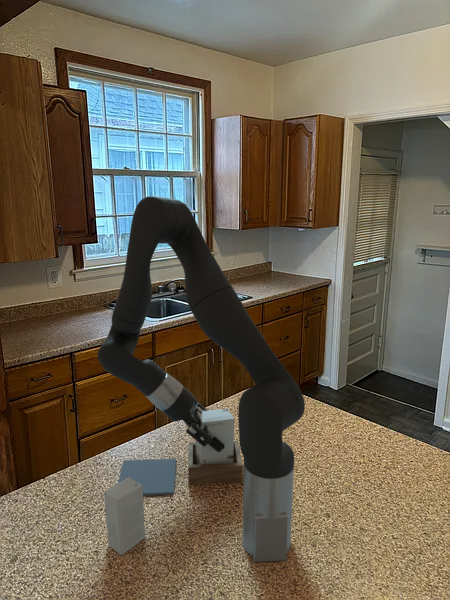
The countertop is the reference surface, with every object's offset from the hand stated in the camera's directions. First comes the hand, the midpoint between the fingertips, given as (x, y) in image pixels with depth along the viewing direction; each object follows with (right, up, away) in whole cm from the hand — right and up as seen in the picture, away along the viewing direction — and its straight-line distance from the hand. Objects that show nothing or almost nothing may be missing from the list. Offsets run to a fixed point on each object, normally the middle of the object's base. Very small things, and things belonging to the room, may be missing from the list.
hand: (221, 440), depth 108 cm
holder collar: (-2, -8, +2) cm, 8 cm away
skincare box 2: (-2, -8, +2) cm, 8 cm away
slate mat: (-17, -8, -1) cm, 19 cm away
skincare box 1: (-18, -13, -21) cm, 31 cm away
